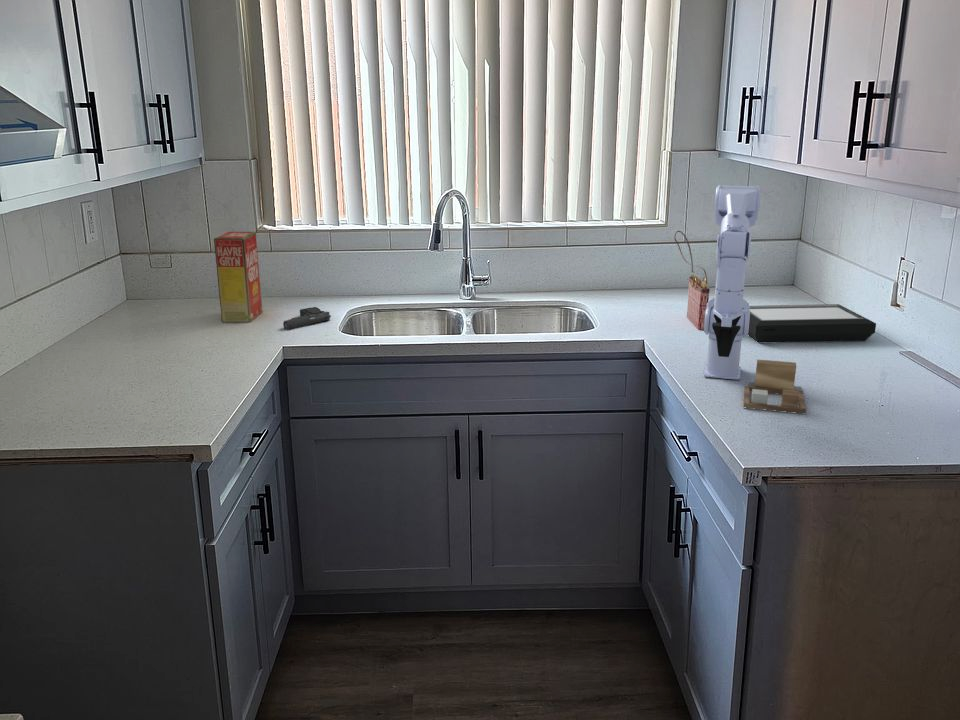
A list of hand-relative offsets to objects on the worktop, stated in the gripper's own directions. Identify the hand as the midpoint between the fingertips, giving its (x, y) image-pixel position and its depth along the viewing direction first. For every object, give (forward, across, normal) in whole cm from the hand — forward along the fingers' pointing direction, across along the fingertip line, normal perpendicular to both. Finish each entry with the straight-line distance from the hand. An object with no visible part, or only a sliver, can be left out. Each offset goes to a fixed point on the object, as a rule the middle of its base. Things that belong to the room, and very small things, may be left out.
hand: (724, 351), depth 172 cm
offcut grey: (+10, -4, -8) cm, 13 cm away
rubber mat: (+10, +7, -11) cm, 17 cm away
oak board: (+10, +6, -11) cm, 16 cm away
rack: (+10, -1, -11) cm, 15 cm away
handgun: (+10, +31, +120) cm, 124 cm away
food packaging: (+10, +31, +140) cm, 144 cm away
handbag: (+10, +62, +11) cm, 64 cm away
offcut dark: (+10, -4, -14) cm, 18 cm away
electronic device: (+10, +57, -19) cm, 61 cm away
